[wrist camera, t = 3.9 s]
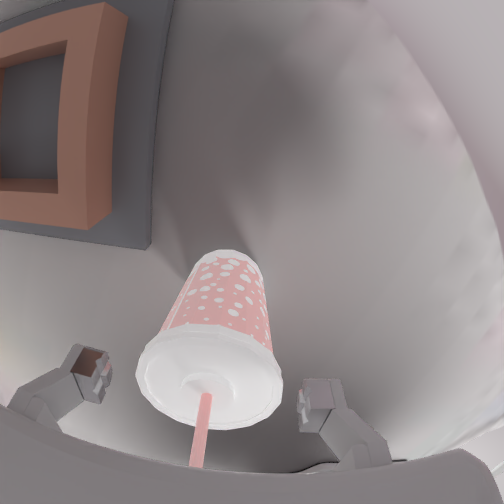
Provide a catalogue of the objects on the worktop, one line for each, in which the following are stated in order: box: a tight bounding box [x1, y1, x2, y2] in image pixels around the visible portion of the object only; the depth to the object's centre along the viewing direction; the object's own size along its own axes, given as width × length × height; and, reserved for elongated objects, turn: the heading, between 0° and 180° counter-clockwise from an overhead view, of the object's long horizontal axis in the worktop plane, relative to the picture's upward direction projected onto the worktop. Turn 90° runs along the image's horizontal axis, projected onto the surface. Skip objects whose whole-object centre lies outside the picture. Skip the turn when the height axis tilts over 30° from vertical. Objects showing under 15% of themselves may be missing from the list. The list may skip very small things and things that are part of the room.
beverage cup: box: [135, 250, 283, 468], centre depth 13 cm, size 6×6×14 cm
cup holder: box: [0, 0, 174, 250], centre depth 13 cm, size 16×16×4 cm
